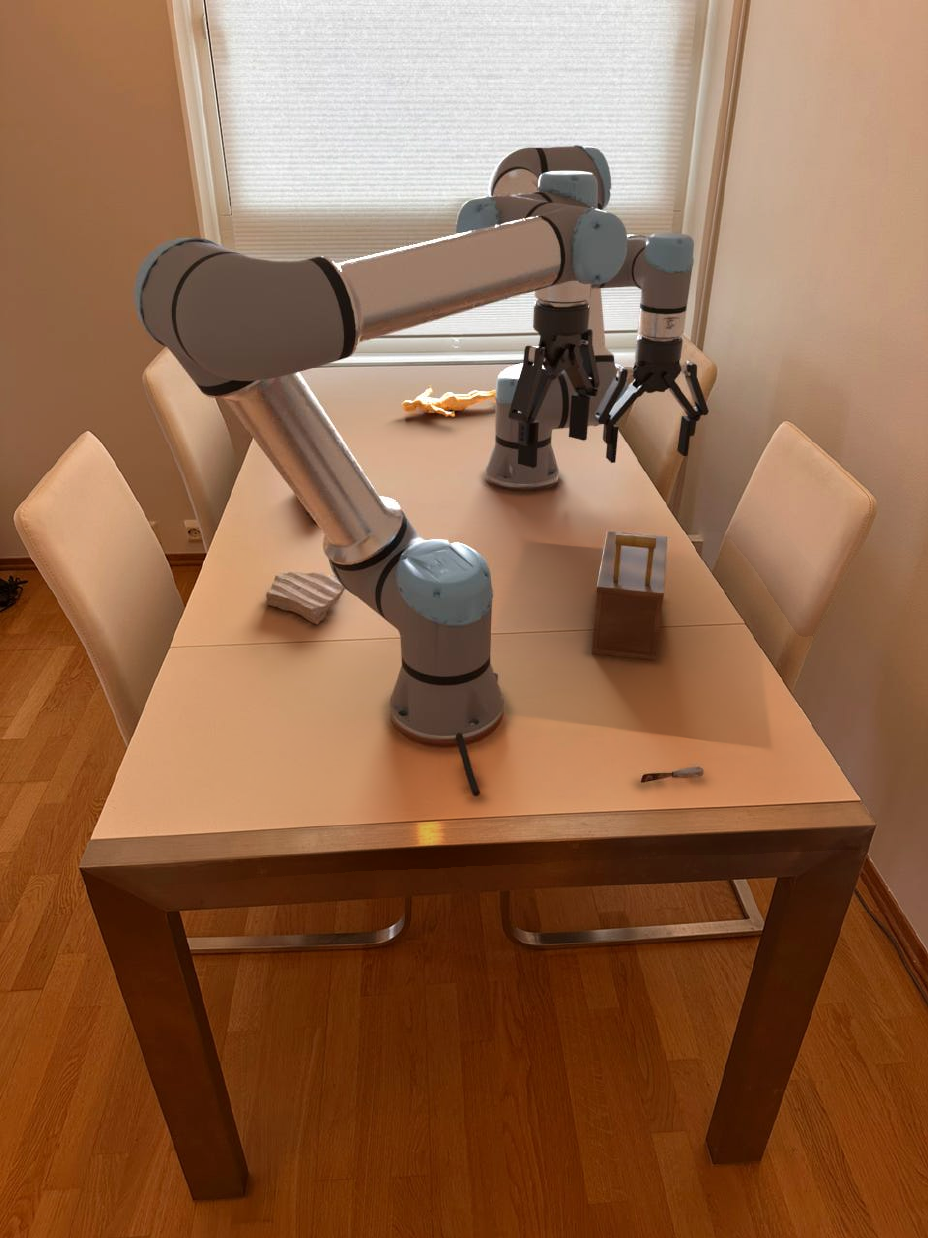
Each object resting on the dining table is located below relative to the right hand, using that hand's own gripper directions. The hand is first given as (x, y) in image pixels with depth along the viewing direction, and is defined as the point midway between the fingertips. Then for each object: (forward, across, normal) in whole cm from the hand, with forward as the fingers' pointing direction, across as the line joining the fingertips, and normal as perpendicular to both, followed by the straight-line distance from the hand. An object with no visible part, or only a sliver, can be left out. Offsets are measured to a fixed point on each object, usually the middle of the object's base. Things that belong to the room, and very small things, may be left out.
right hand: (646, 456), depth 159 cm
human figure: (+15, -20, +76) cm, 80 cm away
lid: (+4, -14, -31) cm, 34 cm away
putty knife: (+15, -22, -65) cm, 70 cm away
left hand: (-11, -25, -21) cm, 35 cm away
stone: (+15, -63, -12) cm, 65 cm away
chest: (+15, -14, -30) cm, 37 cm away
